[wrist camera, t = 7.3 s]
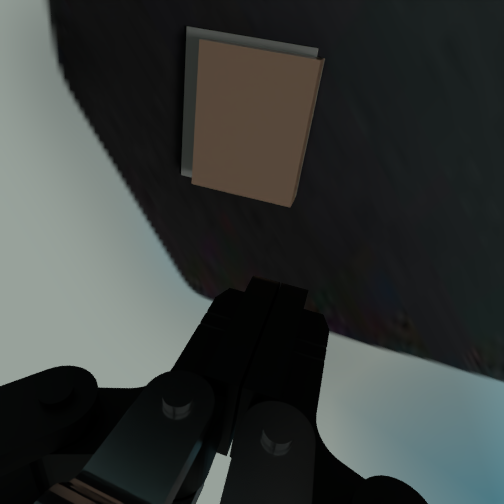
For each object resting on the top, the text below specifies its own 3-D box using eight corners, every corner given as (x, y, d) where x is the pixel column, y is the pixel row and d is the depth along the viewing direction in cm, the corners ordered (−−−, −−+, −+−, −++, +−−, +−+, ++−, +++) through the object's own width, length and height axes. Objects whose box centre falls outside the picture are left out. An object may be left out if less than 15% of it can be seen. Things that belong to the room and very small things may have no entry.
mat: (188, 26, 27) (186, 26, 27) (318, 48, 25) (317, 48, 25) (182, 173, 33) (181, 174, 32) (288, 198, 31) (287, 200, 31)
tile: (324, 58, 25) (212, 39, 26) (320, 60, 23) (199, 39, 24) (295, 196, 30) (203, 174, 32) (290, 207, 28) (191, 183, 30)
